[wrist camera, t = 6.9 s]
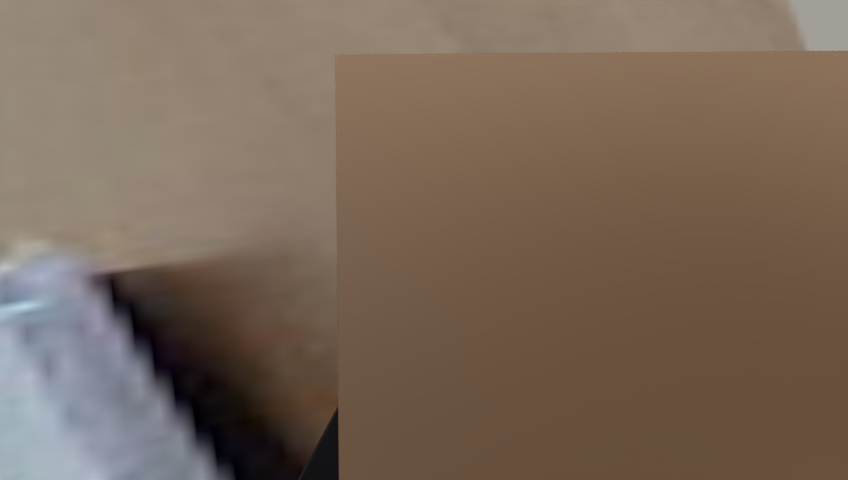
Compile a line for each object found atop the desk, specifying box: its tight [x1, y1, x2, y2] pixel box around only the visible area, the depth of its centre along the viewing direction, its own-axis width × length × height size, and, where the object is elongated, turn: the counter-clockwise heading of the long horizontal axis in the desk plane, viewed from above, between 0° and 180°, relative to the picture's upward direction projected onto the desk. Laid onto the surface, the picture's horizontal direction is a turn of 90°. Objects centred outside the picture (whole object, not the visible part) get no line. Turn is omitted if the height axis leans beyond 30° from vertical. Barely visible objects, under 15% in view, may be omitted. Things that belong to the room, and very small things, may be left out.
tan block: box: [335, 51, 848, 480], centre depth 9 cm, size 6×4×12 cm, turn 2°
